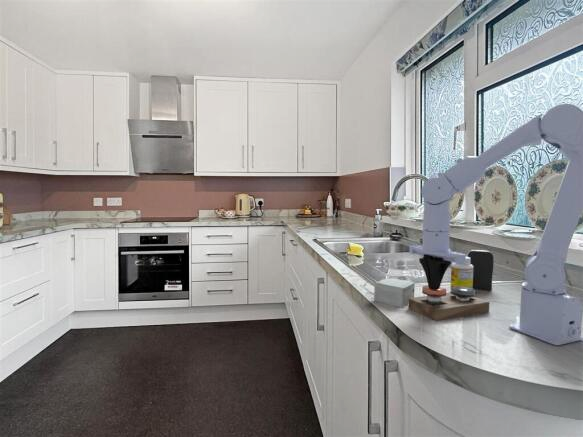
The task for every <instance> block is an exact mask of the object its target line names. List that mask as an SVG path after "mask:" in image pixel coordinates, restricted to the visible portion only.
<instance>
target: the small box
mask: <svg viewBox="0 0 583 437" xmlns="http://www.w3.org/2000/svg"><path fill="white" fill-rule="evenodd" d="M415 283H416V282H414V281H411V280H404V279H398V278H393V277H386V278H384V279H380V280H379V281H376V282H375V283H374V289H373V290H374V292H373V294H374V296H373V301H374V302H376V301H377V302H376V303H381V304H386V305H390V306H395V307H399V308H403V307H404V306H406V305H409V298H415Z"/></svg>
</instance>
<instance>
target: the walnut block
mask: <svg viewBox="0 0 583 437" xmlns="http://www.w3.org/2000/svg"><path fill="white" fill-rule="evenodd" d="M407 305H408V307H407V308H408V309H409V310H410V311H413V312H416V313H418V314H420V315H422V316H424V317H427V318H429V319H431V320H433V321H435V322H438V321H446V320H450V319H457V318H461V317H462V318H463V317H468V316H474V315H480V314H482V315H483V314H487V313H490V301H488V300H484V299H482V298H478V297H475V296H474V297H470V299H469V301H465V302H463V301H460V300H457V299H456V295H453V294H451V292H446V296H442V297H441V305H437V306H432V305H430V304H427V295H424V296H418V297H415V296H414V298H409V303H408V304H407Z"/></svg>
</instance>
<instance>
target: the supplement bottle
mask: <svg viewBox="0 0 583 437" xmlns="http://www.w3.org/2000/svg"><path fill="white" fill-rule="evenodd" d="M470 259H471V258H470V257H467V256H466V259H465V263H462V264H457V263H455V262H452V263H451V267H450V268H451V269H450V271H451V272H450V288H451V287H455V286H461V287H468V288H472V289H473V265H471V264H470V262H471V261H470Z"/></svg>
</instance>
